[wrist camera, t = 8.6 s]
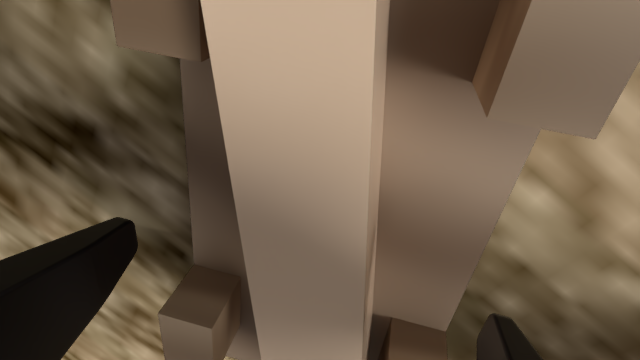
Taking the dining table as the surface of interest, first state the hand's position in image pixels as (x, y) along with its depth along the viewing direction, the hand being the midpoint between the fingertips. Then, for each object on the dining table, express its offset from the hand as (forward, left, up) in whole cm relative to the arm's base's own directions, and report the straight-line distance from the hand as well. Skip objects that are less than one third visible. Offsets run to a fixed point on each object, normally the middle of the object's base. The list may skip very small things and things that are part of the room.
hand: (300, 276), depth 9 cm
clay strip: (0, 0, -4) cm, 4 cm away
